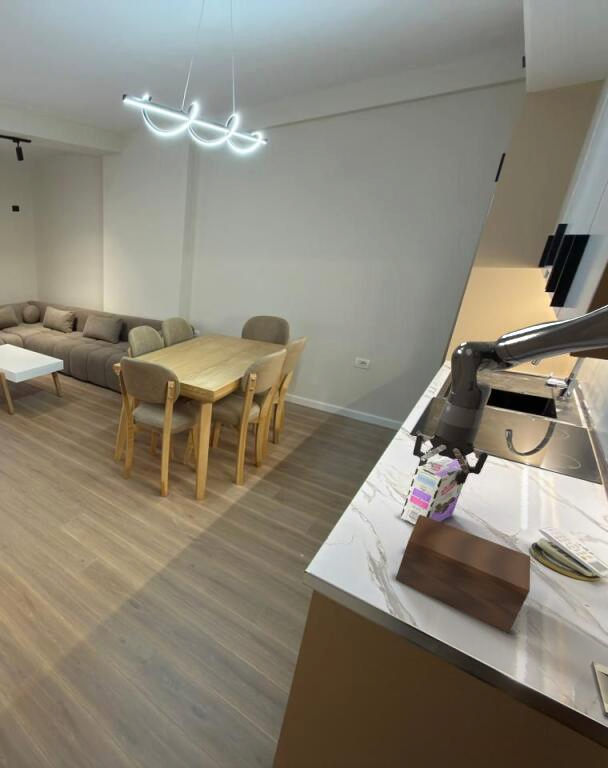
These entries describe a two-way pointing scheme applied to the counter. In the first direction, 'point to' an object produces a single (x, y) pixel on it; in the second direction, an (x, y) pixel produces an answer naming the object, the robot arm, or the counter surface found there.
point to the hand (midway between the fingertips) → (439, 477)
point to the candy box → (433, 491)
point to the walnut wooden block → (466, 572)
